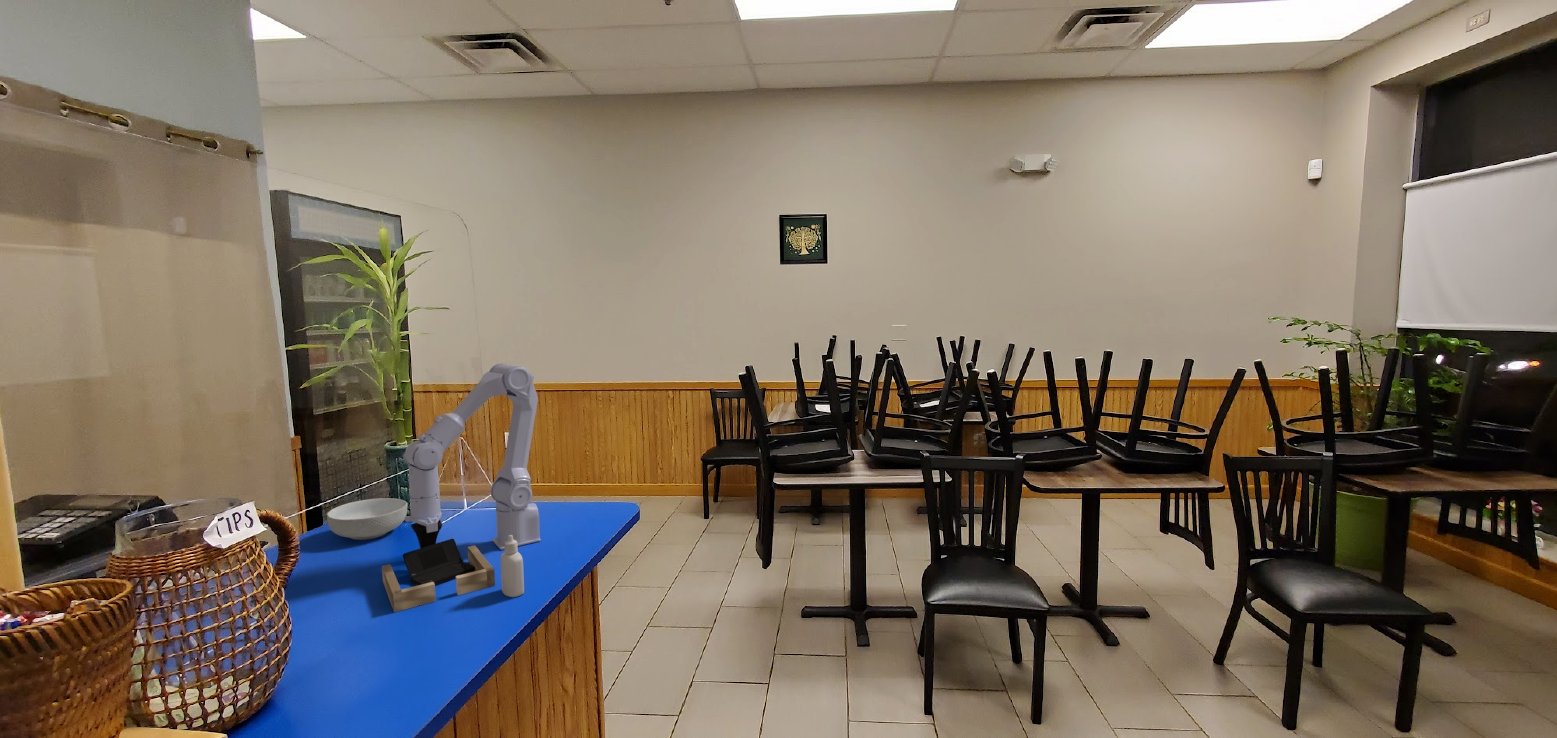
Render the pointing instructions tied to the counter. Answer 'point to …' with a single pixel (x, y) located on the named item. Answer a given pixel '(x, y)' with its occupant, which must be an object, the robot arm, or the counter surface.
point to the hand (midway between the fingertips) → (428, 554)
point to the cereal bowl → (367, 518)
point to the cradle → (426, 592)
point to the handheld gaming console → (436, 563)
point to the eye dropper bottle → (512, 569)
